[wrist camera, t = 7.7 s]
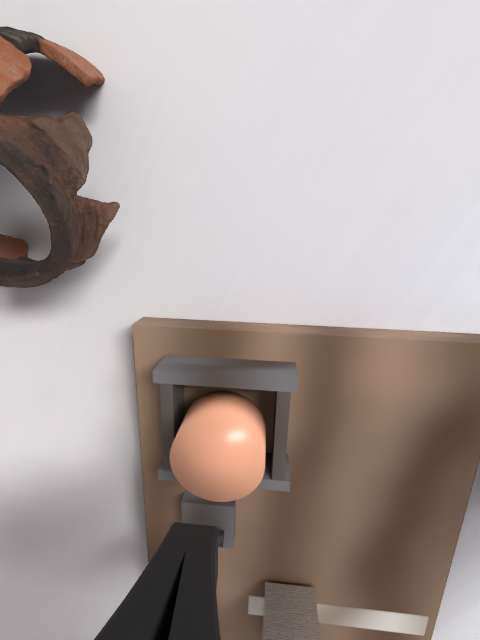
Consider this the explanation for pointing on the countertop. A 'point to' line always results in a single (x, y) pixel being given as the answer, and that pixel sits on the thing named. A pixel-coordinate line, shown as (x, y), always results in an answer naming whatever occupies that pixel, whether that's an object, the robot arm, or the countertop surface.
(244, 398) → the push button
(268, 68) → the countertop surface
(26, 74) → the brown curved loop piece
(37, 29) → the countertop surface
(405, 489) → the control panel
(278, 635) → the gray rectangular block
